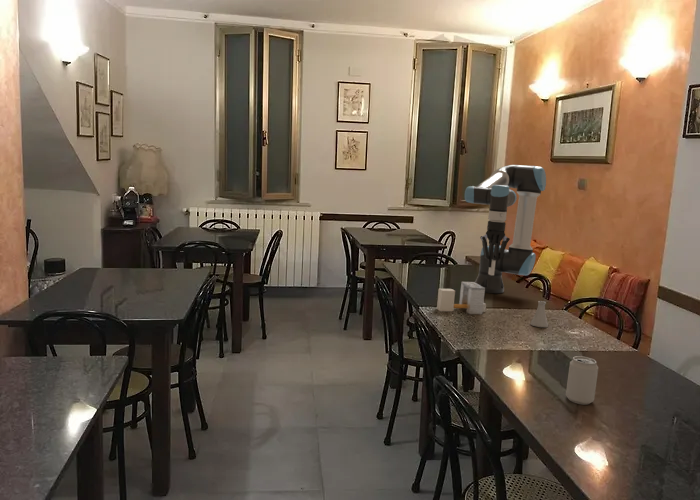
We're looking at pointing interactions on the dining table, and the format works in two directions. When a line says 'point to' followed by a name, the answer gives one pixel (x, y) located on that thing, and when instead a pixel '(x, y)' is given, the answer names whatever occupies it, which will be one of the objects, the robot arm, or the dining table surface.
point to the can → (582, 380)
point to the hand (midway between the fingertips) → (491, 274)
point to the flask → (540, 316)
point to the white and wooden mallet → (449, 301)
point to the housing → (472, 297)
